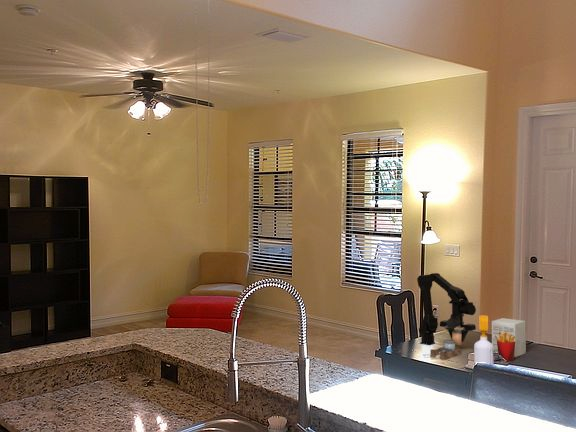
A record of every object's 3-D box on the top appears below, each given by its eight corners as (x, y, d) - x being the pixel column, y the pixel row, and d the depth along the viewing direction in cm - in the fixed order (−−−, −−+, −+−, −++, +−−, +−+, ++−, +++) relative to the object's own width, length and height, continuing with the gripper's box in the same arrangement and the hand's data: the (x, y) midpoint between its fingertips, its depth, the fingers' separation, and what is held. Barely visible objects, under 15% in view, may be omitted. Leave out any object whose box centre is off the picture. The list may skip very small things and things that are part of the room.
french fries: (505, 358, 300) (505, 329, 300) (518, 361, 293) (518, 332, 293) (493, 360, 296) (493, 331, 296) (506, 364, 289) (506, 334, 289)
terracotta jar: (449, 344, 316) (449, 330, 316) (455, 342, 320) (455, 329, 320) (459, 345, 312) (459, 332, 312) (464, 343, 316) (464, 330, 316)
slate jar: (442, 354, 310) (441, 340, 310) (447, 352, 314) (447, 339, 314) (451, 356, 306) (451, 342, 306) (457, 354, 310) (457, 340, 310)
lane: (446, 351, 316) (446, 344, 316) (461, 354, 310) (461, 346, 310) (429, 357, 304) (429, 349, 304) (445, 360, 298) (445, 352, 298)
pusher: (441, 353, 310) (441, 347, 310) (452, 355, 305) (452, 349, 305) (434, 356, 305) (434, 349, 305) (445, 358, 300) (445, 351, 300)
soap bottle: (493, 364, 289) (493, 314, 289) (493, 368, 280) (493, 318, 280) (474, 362, 292) (474, 314, 292) (474, 367, 283) (473, 317, 283)
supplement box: (502, 349, 320) (502, 317, 320) (526, 353, 311) (526, 320, 311) (491, 353, 311) (491, 320, 311) (515, 357, 302) (515, 324, 301)
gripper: (434, 312, 317) (434, 341, 317) (466, 316, 304) (466, 346, 304) (444, 309, 325) (444, 337, 325) (476, 313, 312) (476, 342, 312)
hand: (457, 341), depth 316 cm, fingers closed on terracotta jar, 5 cm apart
